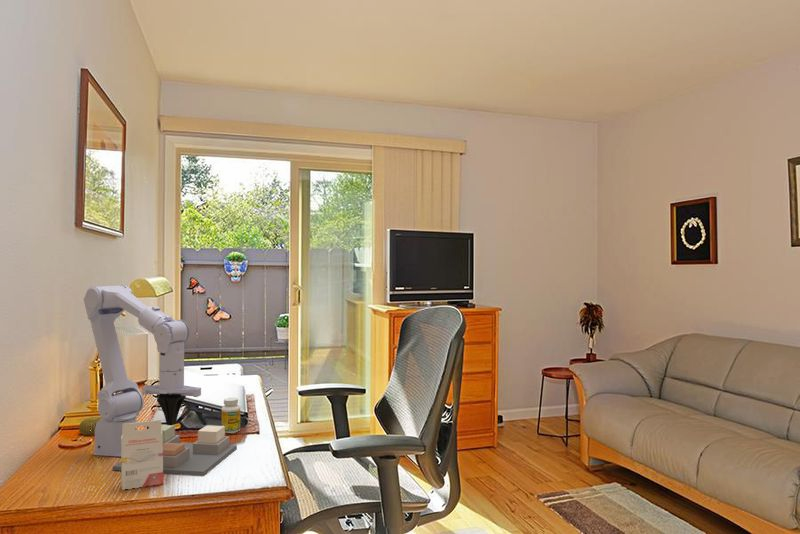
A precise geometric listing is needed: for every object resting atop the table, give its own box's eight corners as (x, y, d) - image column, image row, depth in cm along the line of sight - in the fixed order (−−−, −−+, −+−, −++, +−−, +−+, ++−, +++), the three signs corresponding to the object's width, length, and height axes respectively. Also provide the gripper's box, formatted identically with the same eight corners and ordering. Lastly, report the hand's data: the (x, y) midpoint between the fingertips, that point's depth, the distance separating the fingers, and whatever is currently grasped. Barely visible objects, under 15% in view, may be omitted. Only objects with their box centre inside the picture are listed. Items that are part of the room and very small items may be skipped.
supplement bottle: (234, 427, 170) (235, 395, 170) (243, 431, 166) (243, 399, 166) (218, 431, 166) (218, 398, 166) (226, 435, 163) (226, 402, 162)
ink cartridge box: (162, 477, 131) (163, 414, 131) (163, 485, 127) (163, 420, 126) (121, 482, 128) (122, 418, 128) (120, 491, 123) (120, 424, 123)
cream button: (197, 444, 145) (197, 430, 145) (206, 438, 150) (206, 425, 150) (216, 445, 144) (216, 431, 144) (224, 439, 149) (224, 426, 149)
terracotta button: (154, 463, 136) (154, 449, 136) (165, 456, 141) (165, 442, 141) (174, 465, 135) (174, 450, 135) (184, 457, 140) (184, 443, 140)
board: (112, 470, 135) (112, 455, 135) (156, 444, 154) (156, 431, 154) (203, 475, 132) (203, 460, 132) (236, 448, 151) (236, 435, 151)
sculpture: (103, 422, 161) (73, 423, 160) (103, 436, 161) (73, 437, 160) (114, 415, 169) (86, 415, 168) (114, 428, 169) (86, 429, 168)
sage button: (146, 443, 146) (146, 429, 145) (157, 437, 151) (157, 424, 150) (164, 444, 145) (164, 430, 145) (174, 438, 150) (174, 425, 150)
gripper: (134, 371, 136) (134, 427, 136) (191, 374, 134) (190, 430, 135) (151, 366, 143) (151, 419, 143) (205, 368, 141) (204, 422, 142)
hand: (171, 424), depth 139 cm, fingers closed
